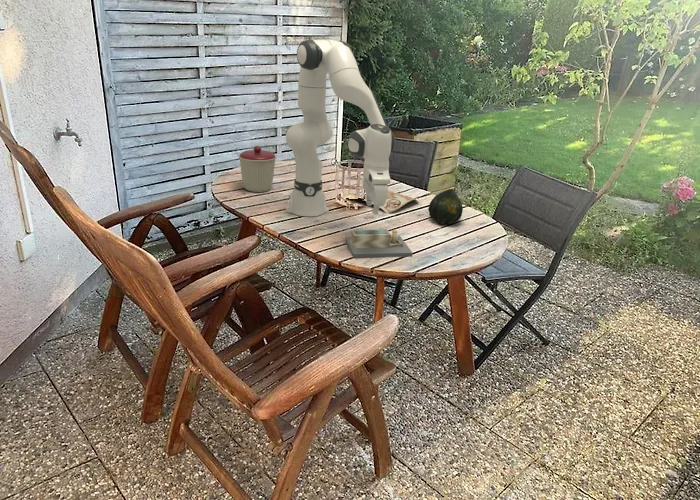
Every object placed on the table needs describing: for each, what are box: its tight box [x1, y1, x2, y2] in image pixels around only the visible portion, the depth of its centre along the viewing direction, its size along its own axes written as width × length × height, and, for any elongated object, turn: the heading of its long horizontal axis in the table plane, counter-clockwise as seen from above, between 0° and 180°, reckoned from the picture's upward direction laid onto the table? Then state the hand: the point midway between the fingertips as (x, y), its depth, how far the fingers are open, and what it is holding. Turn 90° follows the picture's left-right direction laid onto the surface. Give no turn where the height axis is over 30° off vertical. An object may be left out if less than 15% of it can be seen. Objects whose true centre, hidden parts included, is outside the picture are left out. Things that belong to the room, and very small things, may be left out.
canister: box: [237, 145, 278, 193], centre depth 252 cm, size 18×18×21 cm
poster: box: [363, 190, 419, 214], centre depth 252 cm, size 28×6×30 cm
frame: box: [349, 229, 403, 248], centre depth 196 cm, size 19×6×5 cm, turn 102°
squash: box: [427, 188, 464, 225], centre depth 228 cm, size 14×15×15 cm
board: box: [344, 229, 414, 259], centre depth 196 cm, size 16×22×7 cm
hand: (371, 209), depth 191 cm, fingers open, 8 cm apart
